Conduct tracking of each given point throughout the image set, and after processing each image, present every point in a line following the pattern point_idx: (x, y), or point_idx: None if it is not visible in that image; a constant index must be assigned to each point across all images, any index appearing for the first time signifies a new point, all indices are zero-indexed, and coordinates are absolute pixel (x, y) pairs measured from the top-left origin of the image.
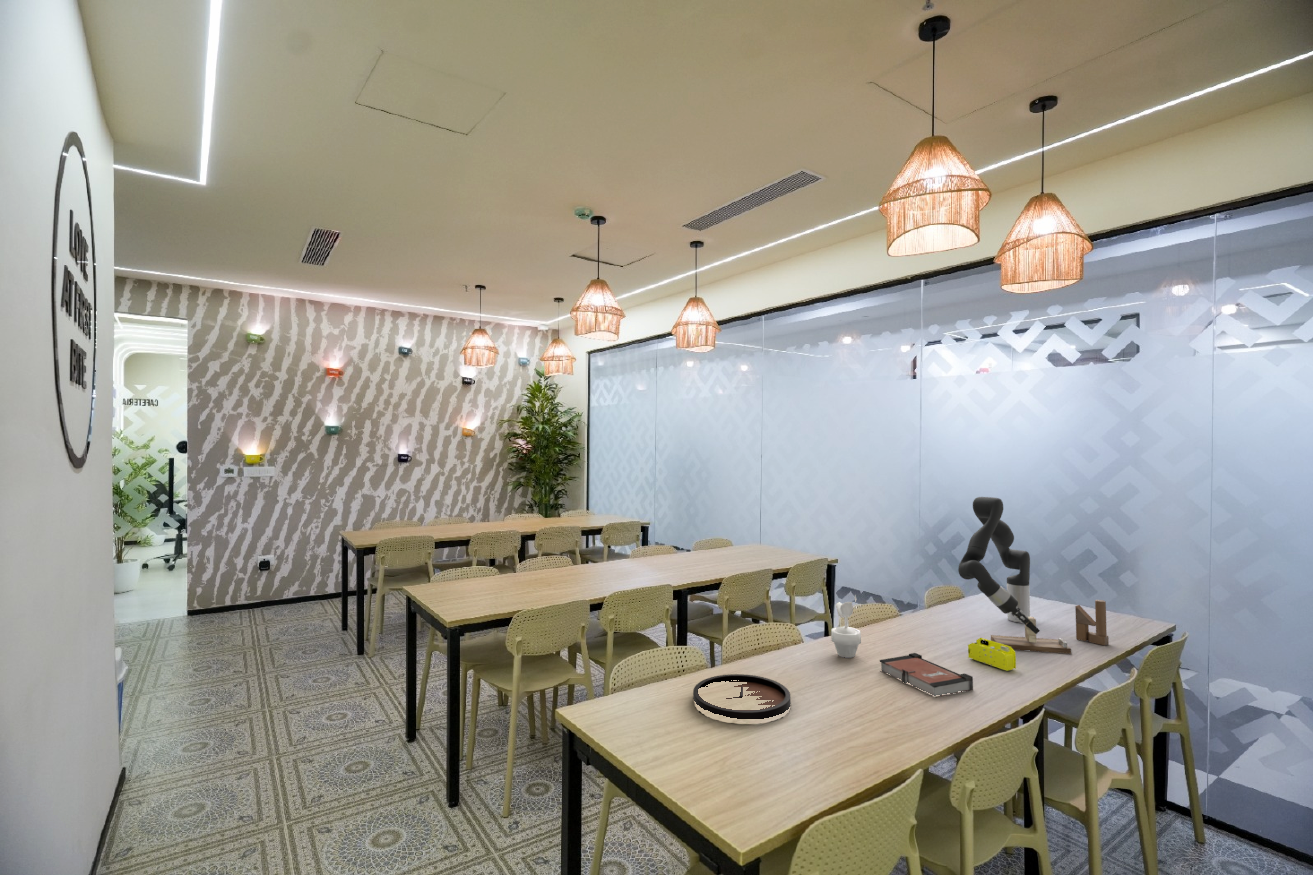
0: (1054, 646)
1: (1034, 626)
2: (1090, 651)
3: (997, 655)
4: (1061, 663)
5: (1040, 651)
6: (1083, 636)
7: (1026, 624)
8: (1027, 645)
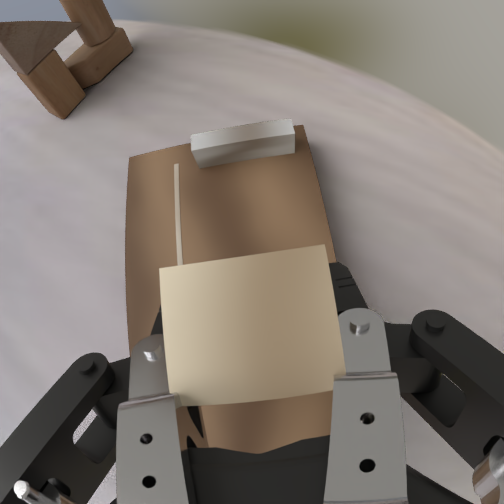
0: (294, 197)
1: (339, 294)
2: (220, 78)
3: None
4: (486, 217)
5: None
6: (74, 88)
7: (463, 395)
8: None
